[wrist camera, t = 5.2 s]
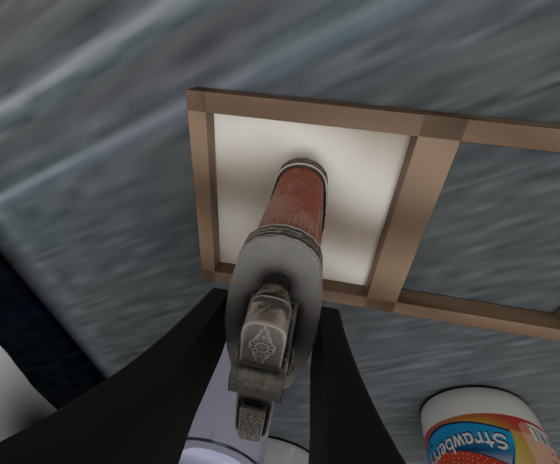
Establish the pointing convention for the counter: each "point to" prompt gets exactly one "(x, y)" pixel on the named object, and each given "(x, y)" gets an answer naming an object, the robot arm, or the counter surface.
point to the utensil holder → (284, 453)
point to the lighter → (276, 295)
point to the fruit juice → (483, 429)
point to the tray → (347, 191)
